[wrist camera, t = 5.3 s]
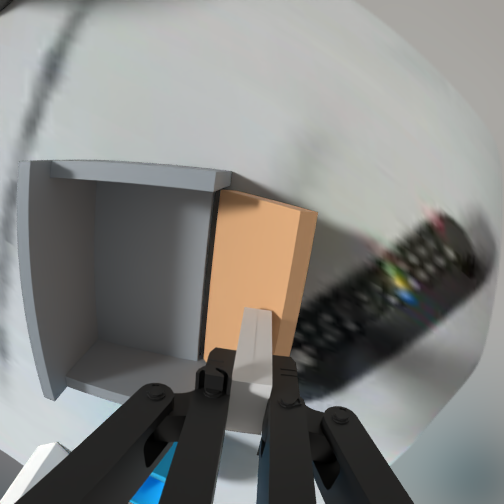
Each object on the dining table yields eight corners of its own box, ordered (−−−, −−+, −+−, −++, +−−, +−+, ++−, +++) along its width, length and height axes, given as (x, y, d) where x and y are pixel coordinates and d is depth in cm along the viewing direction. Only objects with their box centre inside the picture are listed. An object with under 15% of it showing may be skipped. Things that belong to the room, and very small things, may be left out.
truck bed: (94, 159, 22) (18, 161, 13) (232, 171, 22) (208, 171, 13) (95, 340, 26) (44, 396, 17) (210, 366, 26) (188, 441, 17)
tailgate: (220, 189, 21) (300, 211, 15) (236, 190, 22) (318, 212, 16) (203, 359, 25) (259, 422, 18) (216, 356, 25) (274, 416, 19)
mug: (185, 401, 27) (163, 465, 19) (213, 454, 29) (202, 513, 21) (89, 407, 29) (57, 455, 21) (123, 455, 31) (100, 503, 23)
